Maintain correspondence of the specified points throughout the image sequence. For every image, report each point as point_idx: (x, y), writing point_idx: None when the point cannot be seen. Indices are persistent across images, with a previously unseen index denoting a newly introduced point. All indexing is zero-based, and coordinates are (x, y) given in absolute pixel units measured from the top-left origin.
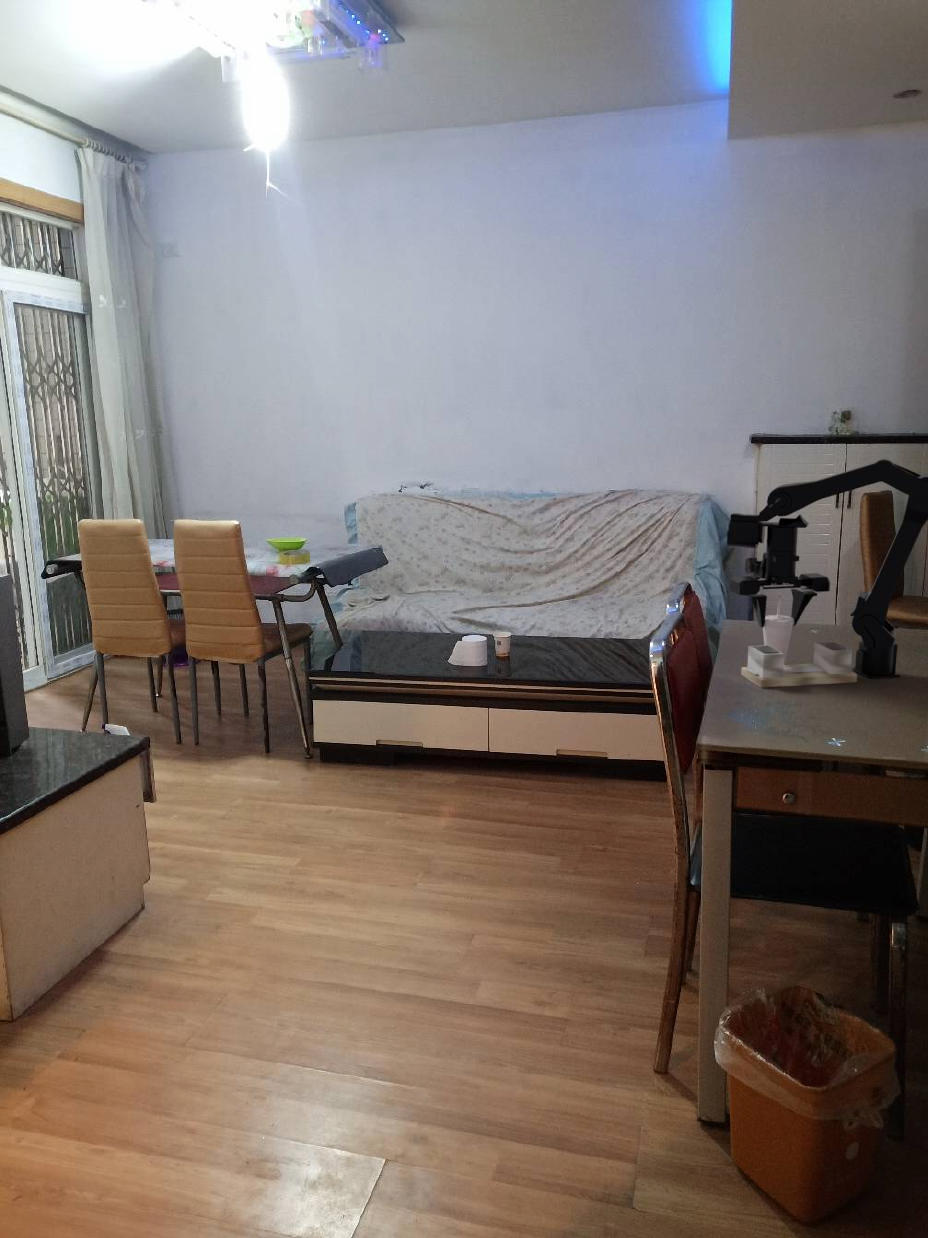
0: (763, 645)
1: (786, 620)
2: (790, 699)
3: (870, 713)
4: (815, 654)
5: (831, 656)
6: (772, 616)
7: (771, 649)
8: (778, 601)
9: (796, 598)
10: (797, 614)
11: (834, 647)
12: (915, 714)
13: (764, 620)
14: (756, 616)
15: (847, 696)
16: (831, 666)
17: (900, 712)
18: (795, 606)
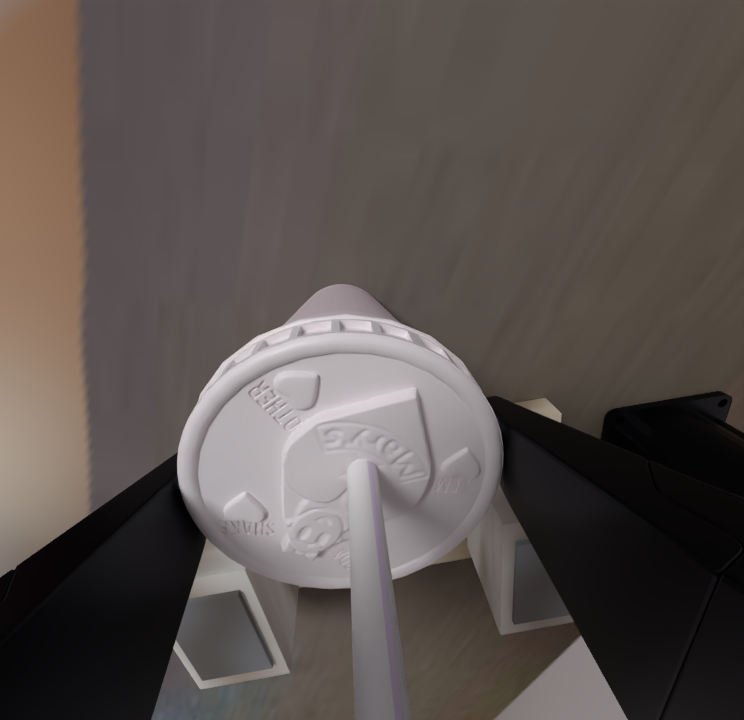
0: (217, 579)
1: (406, 537)
2: (294, 641)
3: (438, 689)
4: None
5: (491, 610)
6: (303, 450)
7: (243, 645)
8: (361, 698)
9: (738, 716)
10: (540, 550)
11: (537, 607)
12: (522, 685)
13: (198, 554)
14: (102, 508)
15: (445, 616)
16: (478, 573)
17: (500, 680)
18: (602, 577)
